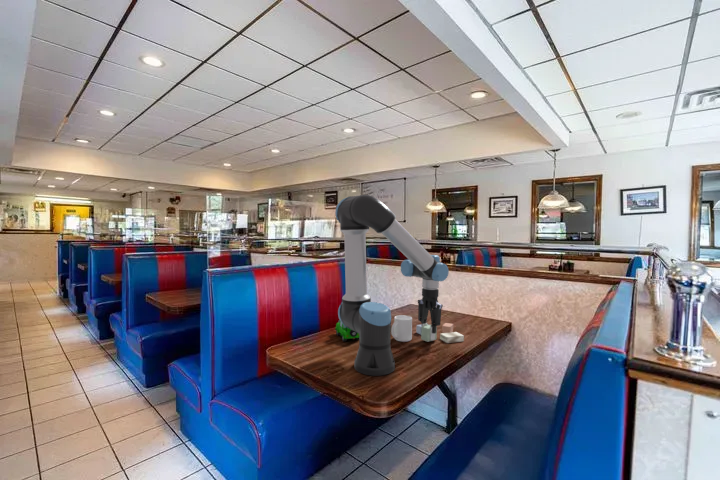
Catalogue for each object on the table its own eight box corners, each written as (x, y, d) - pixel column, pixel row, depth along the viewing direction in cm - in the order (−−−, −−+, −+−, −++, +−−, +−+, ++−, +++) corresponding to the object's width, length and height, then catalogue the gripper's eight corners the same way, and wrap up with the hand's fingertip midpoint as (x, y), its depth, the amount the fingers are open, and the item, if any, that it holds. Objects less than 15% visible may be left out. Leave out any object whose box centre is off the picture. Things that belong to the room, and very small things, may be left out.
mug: (397, 344, 154) (398, 322, 154) (384, 340, 160) (385, 318, 160) (415, 339, 162) (415, 317, 162) (402, 335, 168) (402, 314, 168)
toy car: (350, 332, 173) (350, 312, 172) (362, 343, 157) (363, 321, 156) (334, 333, 170) (334, 313, 169) (345, 344, 154) (345, 322, 153)
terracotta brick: (450, 334, 170) (450, 326, 170) (442, 333, 172) (442, 325, 172) (453, 331, 176) (453, 323, 175) (445, 330, 177) (445, 322, 177)
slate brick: (420, 335, 169) (421, 327, 169) (416, 332, 173) (416, 325, 173) (431, 333, 171) (431, 325, 171) (426, 331, 175) (426, 323, 175)
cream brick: (447, 343, 158) (447, 337, 157) (440, 339, 163) (440, 333, 163) (463, 342, 160) (464, 335, 160) (456, 338, 166) (456, 331, 166)
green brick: (427, 341, 156) (428, 328, 156) (421, 339, 160) (421, 326, 159) (436, 339, 160) (436, 326, 160) (429, 337, 163) (430, 324, 163)
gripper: (450, 290, 154) (448, 342, 155) (422, 285, 168) (420, 332, 169) (439, 291, 150) (437, 345, 150) (411, 286, 164) (409, 334, 164)
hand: (428, 338), depth 160 cm, fingers closed on green brick, 4 cm apart
